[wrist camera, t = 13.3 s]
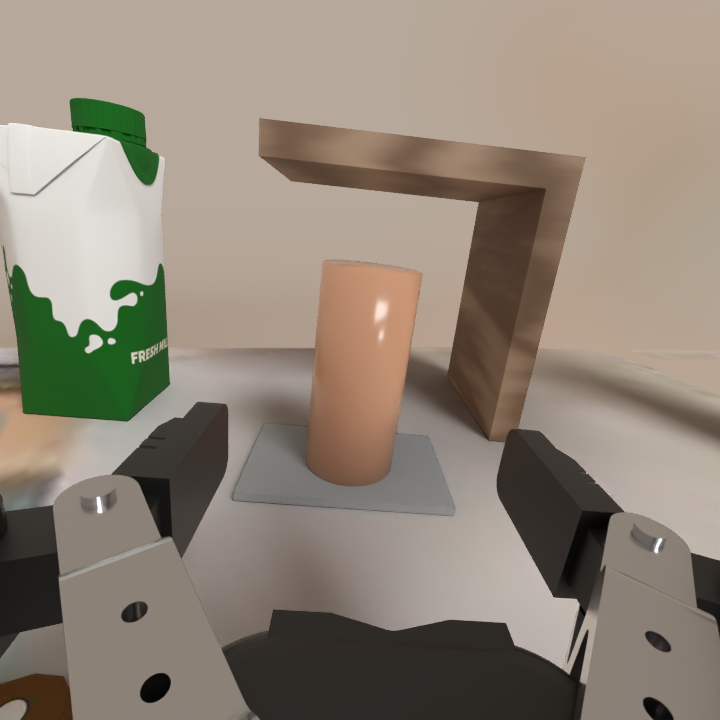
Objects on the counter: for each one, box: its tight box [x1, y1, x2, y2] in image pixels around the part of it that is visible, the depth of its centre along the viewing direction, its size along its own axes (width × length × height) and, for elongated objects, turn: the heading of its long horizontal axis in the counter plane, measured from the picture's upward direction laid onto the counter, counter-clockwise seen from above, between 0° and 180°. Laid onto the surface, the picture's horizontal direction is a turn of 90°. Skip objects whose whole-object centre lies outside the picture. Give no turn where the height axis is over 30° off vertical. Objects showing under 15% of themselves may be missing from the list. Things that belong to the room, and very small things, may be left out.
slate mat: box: [233, 423, 455, 516], centre depth 25 cm, size 12×8×1 cm, turn 91°
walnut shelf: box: [259, 118, 585, 442], centre depth 34 cm, size 20×14×20 cm
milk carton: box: [0, 98, 170, 421], centre depth 28 cm, size 9×9×20 cm
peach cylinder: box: [306, 260, 423, 486], centre depth 23 cm, size 5×5×12 cm
